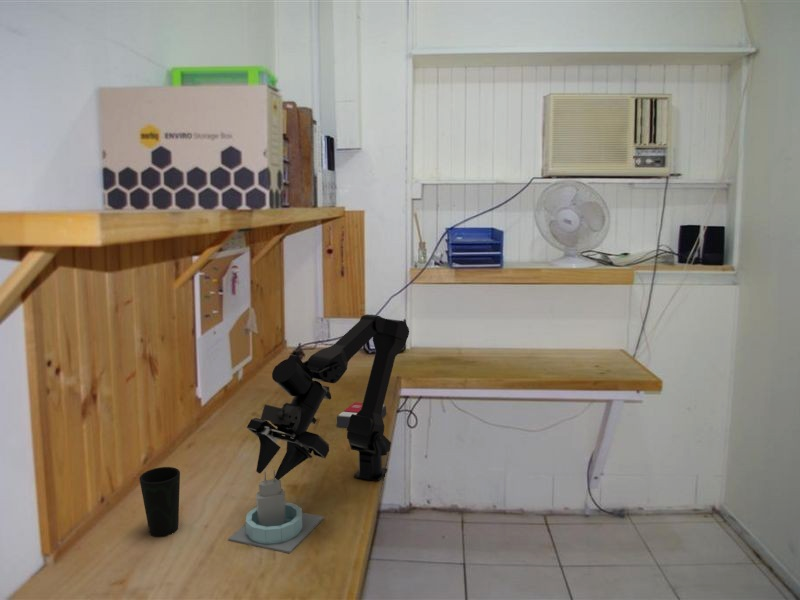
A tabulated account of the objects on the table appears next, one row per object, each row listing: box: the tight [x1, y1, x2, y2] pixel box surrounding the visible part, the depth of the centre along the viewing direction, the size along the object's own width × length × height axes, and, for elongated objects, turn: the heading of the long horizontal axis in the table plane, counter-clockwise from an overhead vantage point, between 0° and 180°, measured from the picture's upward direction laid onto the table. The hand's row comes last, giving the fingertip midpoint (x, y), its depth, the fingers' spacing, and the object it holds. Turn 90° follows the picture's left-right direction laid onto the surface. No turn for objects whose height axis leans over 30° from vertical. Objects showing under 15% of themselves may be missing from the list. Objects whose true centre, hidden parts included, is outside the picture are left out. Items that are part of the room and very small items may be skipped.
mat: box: [228, 512, 325, 554], centre depth 127 cm, size 14×14×1 cm
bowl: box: [245, 501, 303, 544], centre depth 126 cm, size 11×11×3 cm
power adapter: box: [255, 469, 286, 527], centre depth 125 cm, size 3×5×12 cm, turn 113°
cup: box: [139, 466, 181, 538], centre depth 126 cm, size 8×8×12 cm
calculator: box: [336, 401, 387, 429], centre depth 190 cm, size 11×4×15 cm
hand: (267, 475), depth 123 cm, fingers open, 5 cm apart
